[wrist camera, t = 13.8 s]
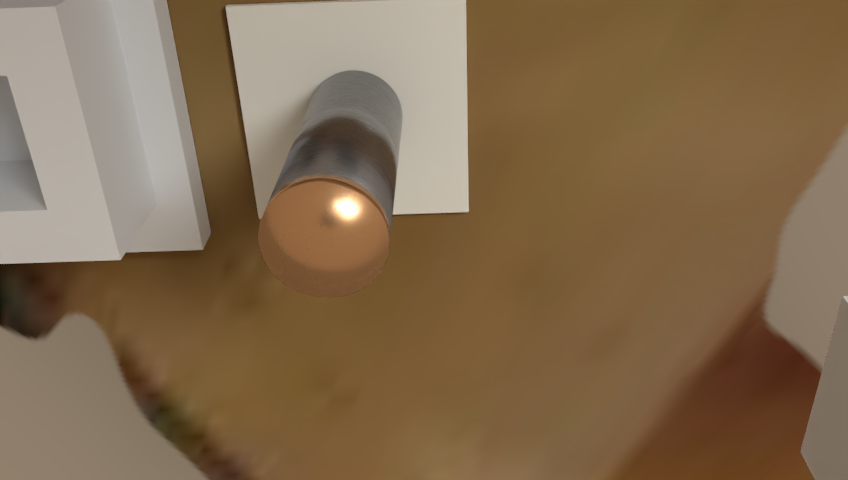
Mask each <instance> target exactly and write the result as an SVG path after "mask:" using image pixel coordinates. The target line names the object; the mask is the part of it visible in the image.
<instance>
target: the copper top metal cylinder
mask: <svg viewBox="0 0 848 480" xmlns="http://www.w3.org/2000/svg"><path fill="white" fill-rule="evenodd" d="M402 117H403V115H402V108H401V104H400V101H399V99H398V97H397V95H396V93H395V92H394V90H393V89H392V88H391V87H390V86H389V84H388V83H386V82H385V81H384V80H383V79H381V78H379V77H378V76H376V75H374V74H371V73H368V72H365V71H359V70H350V71H343V72H339V73H336V74H334V75H332V76H330V77H328V78H327V79H326V80H324V81H323V82H322V83H321V84H320V85H319V86H318V88H317V89H316V90H315V92H314V94H313V96H312V98H311V101H310V103H309V106H308V108H307V110H306V113H305V115H304V118H303V120H302V122H301V125H300V127H299V130H298V132H297V134H296V137H295V139H294V142H293V144H292V146H291V149H290V151H289V154H288V156H287V158H286V161H285V163H284V166H283V168H282V170H281V173H280V175H279V178H278V180H277V182H276V185H275V187H274V190H273V192H272V194H271V197H270V199H269V202H268V204H267V206H266V209H265V211H264V214H263V216H262V218H261V221H260V225H259V230H258V244H259V248H260V252H261V255H262V257H263V260H264V261H265V263H266V265H267V267H268V268H269V269H270V271H271V272H272V273H273V274H274V275H275V276H276V277H277V278H278V279H279V280H280V281H281V282H282V283H284V284H285V285H287V286H288V287H290V288H292V289H294V290H296V291H298V292H301V293H303V294H306V295H310V296H315V297H322V298H333V297H341V296H346V295H349V294H352V293H355V292H357V291H359V290H361V289H363V288H364V287H366V286H367V285H369V284H370V283H371V282H372V281H373V280H374V279H375V278H376V277H377V276H378V275H379V273H380V272H381V271H382V269H383V267H384V265H385V263H386V260H387V257H388V252H389V244H390V235H391V225H392V216H393V206H394V197H395V187H396V177H397V168H398V158H399V149H400V139H401V130H402Z"/></svg>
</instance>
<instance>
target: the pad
mask: <svg viewBox="0 0 848 480" xmlns="http://www.w3.org/2000/svg"><path fill="white" fill-rule="evenodd" d="M226 13H227V20H228V26H229V32H230V39H231V45H232V52H233V58H234V64H235V71H236V77H237V83H238V90H239V96H240V103H241V109H242V115H243V122H244V128H245V134H246V141H247V147H248V154H249V160H250V166H251V173H252V179H253V185H254V192H255V198H256V205H257V211H258V217H259V219H261V218H262V216H263V214H264V211H265V209H266V206H267V204H268V202H269V199H270V197H271V194H272V192H273V190H274V187H275V185H276V182H277V180H278V178H279V175H280V173H281V170H282V168H283V166H284V163H285V161H286V158H287V156H288V154H289V151H290V149H291V146H292V144H293V142H294V139H295V137H296V134H297V132H298V130H299V127H300V125H301V122H302V120H303V118H304V115H305V113H306V110H307V108H308V106H309V103H310V101H311V98H312V96H313V94H314V92H315V90H316V89H317V88H318V86H319V85H320V84H321V83H322V82H323V81H324V80H326V79H327V78H328V77H330V76H332V75H334V74H336V73H339V72H343V71H350V70H359V71H365V72H368V73H371V74H374V75H376V76H378V77H379V78H381V79H383V80H384V81H385V82H386V83H388V84H389V86H390V87H391V88H392V89H393V90H394V92H395V93H396V95H397V97H398V99H399V101H400V104H401V108H402V115H403V117H402V130H401V139H400V149H399V158H398V168H397V177H396V187H395V197H394V206H393V215H394V214H424V213H453V212H469V204H468V123H467V41H466V0H338V1H313V2H287V3H261V4H235V5H227V6H226Z"/></svg>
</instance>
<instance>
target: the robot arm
mask: <svg viewBox="0 0 848 480" xmlns="http://www.w3.org/2000/svg"><path fill="white" fill-rule="evenodd" d="M801 454H802V456H803V458H804V459H805V461H806V463H807V465H808V467H809V469H810V471H811V473H812V475H813V477H814V479H815V480H848V296H843V297H842V300H841V304H840V308H839V312H838V315H837V319H836V323H835V326H834V330H833V334H832V337H831V341H830V345H829V348H828V352H827V356H826V359H825V363H824V367H823V370H822V374H821V378H820V382H819V385H818V389H817V393H816V396H815V400H814V404H813V407H812V411H811V415H810V419H809V422H808V426H807V430H806V433H805V437H804V441H803V444H802V448H801Z"/></svg>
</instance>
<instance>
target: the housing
mask: <svg viewBox="0 0 848 480" xmlns="http://www.w3.org/2000/svg"><path fill="white" fill-rule="evenodd" d="M210 234H211V229H210V224H209V219H208V213H207V208H206V203H205V198H204V193H203V187H202V182H201V177H200V172H199V166H198V161H197V156H196V151H195V146H194V140H193V135H192V130H191V125H190V119H189V114H188V109H187V104H186V99H185V93H184V88H183V83H182V78H181V73H180V67H179V62H178V57H177V52H176V46H175V41H174V36H173V31H172V26H171V20H170V15H169V10H168V5H167V0H0V264H14V263H45V262H76V261H106V260H121V259H122V257H123V256H124V254H125V253H126V252H154V251H184V250H203V249H204V247H205V245H206V243H207V240H208V238H209V236H210Z"/></svg>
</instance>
